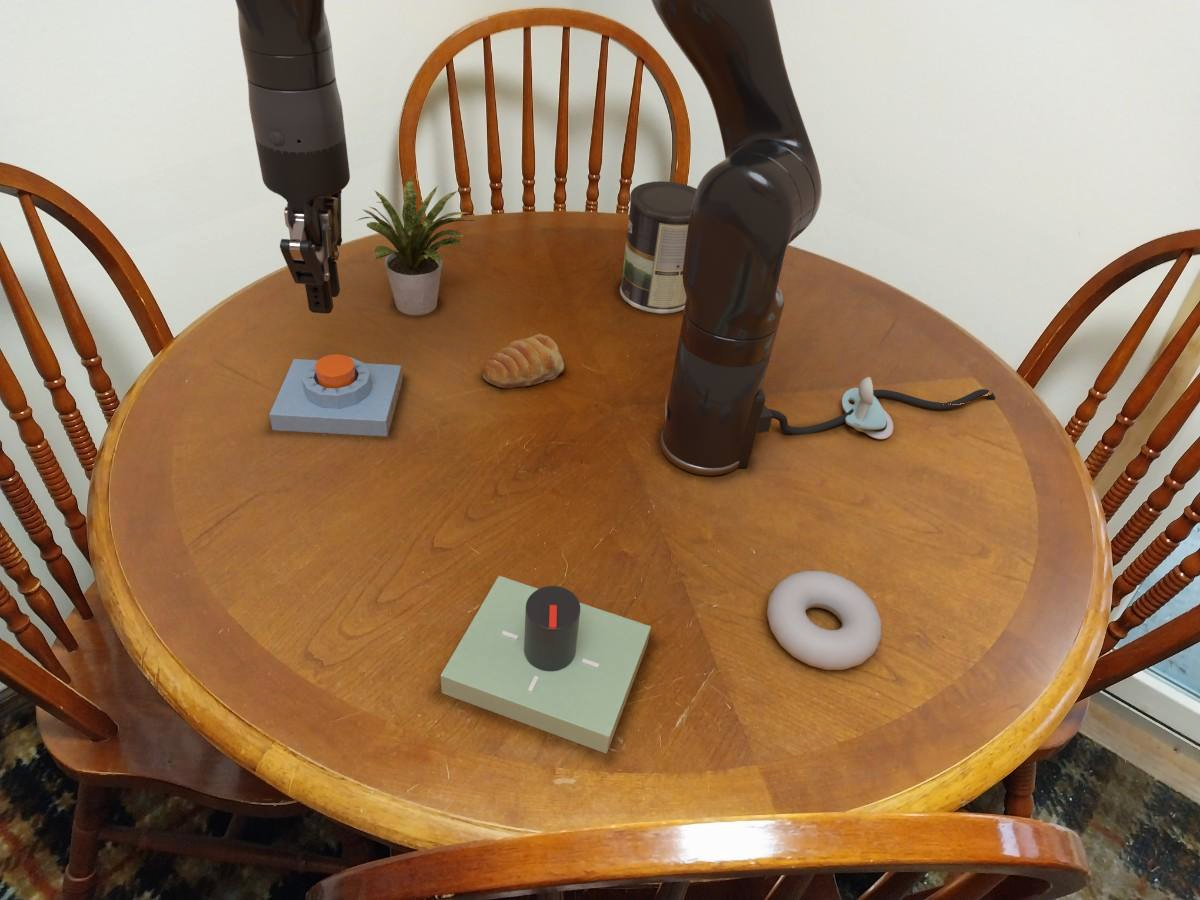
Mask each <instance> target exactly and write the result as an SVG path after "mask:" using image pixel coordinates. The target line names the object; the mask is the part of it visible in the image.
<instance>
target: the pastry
mask: <svg viewBox="0 0 1200 900" xmlns="http://www.w3.org/2000/svg"><path fill="white" fill-rule="evenodd" d="M559 349H560V348H559V346H558V345H557V343H555V341H554V340H553V339H552V337H550V336H549V335H544V334H542V333H537V334H534V335H533V336H530V337H527V338H520V339H519V340H518V339H517V340H512V341H511V342H509V343H508V344H507V345H505V347H503V348H500V350H499V351H497V352H496V353H495V354H493V356H491V357H490V358H489V359H488V360H487V361H486V362H485V363H484V365H483V373H482V378H483V379H484V380H485V382H487V383H489V384H491V385H493V386H495V387H497V388H500V389H501V388H503V389H512V388H519V387H522V388H525V387H530V386H533V385H534V386H535V385H538V384H543V383H544V382H545V381H551V380H555V379H556V378H557V377H558V376H559V375H560V374H561V373H563V372H564V370H565V363H564V361H563V356H562V355H561V353H560V350H559Z"/></svg>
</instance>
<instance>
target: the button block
mask: <svg viewBox="0 0 1200 900" xmlns="http://www.w3.org/2000/svg"><path fill="white" fill-rule="evenodd" d="M349 357H350V356H349ZM350 358H351V359H352V360H353V361H354V366H355V374H356V379H355V381H354V382H353V383H352V384H350V385H349V386H345V387H341V388H337V389H336V388H325V387H323V386H321V385H320V384H319V383H318V381H317V376H316V370H315V365H316V363H317V361H318V360H319V359H305V358H304V359H302V358H301V359H300V358H293V360H292V362H291V364H290V367H289V369H288V371H287V374H286V376H285V378H284V380H283V383H282V385H281V387H280V389H279V392H278V394H277V396H276V398H275V401H274V402H273V406H272V407H271V409H270V412H269V414H268V416H269V420H270V425H271V429H272V431H281V432H298V433H299V432H300V433H319V434H334V435H335V434H336V435H355V436H372V437H388V436H389V433H390V429H391V425H392V422H393V417H394V415H395V410H396V407H397V405H398V404H397V403H398V401H399V400H398V399H399V396H400V392H401V388H402V384H403V379H404V377H403V370H402V369H403V368H402V365H400V364H387V363H370V362H364V361H361V360H359V359H356V358H355V357H350Z"/></svg>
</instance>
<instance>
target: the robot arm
mask: <svg viewBox="0 0 1200 900" xmlns="http://www.w3.org/2000/svg"><path fill="white" fill-rule="evenodd" d="M234 1H235V5H236V8H237V22H238V33H239V40H240V46H241V52H242V57H243V63H244V68H245V74H246V79H247V89H248V90H247V91H248V106H249V114H250V118H251V123H252V124H251V125H252V130H253V134H254V141H255V146H256V151H257V156H258V162H259V168H260V173H261V178H262V182H263V185H264V186H265V187H266V189H268V190H269V191H270V192H272V193H274V194H277V195H278V196H280V197H282V198H283V199H284V200H285V201H286V202H287V204H286V206H285V207H284V212H283V215H284V221H285V226H286V227H287V228H288V233H289V238H281V239H280V243H279V249H280V252H281V254H282V257H283V259H284V262H285V263H286V266H287V268H288V270H289V273H290V274H291V277H292V279H293V281H294V284H299V285H304V286H305V287H304V288H305V293H306V299H307V305H308V310H309V311H310V312H311V313H314V314H326V315H327V314H330V313H332V311H333V309H334V301H333V298H337V297H338V296H339V295H340V292H341V286H340V278H339V271H338V264H337V263H338V262H337V261H338V260H339V258H340V252H339V248H338V247H341V246H342V243H343V238H342V193H343V192H342V191H343V190H344V189H345V188H346V187H347V186H348V184H349V183H350V179H351V174H350V166H349V157H348V147H347V146H348V145H347V139H346V138H347V137H346V131H345V129H346V128H345V121H344V112H343V105H342V100H341V95H340V92H339V88H338V84H337V78H336V69H335V60H334V52H333V43H332V37H331V31H330V25H329V21H328V17H327V14H326V9H325V0H234ZM650 1H651V3H652V5H653V8H654V10H655V12H656V14H657V16H658V17H659V19H660V21H661V22H662V25H663V26H664V28H665V29H666V31H667V33H668V34H669V35H670V36H671V38H672V39H673V41H674V42H675V44H676V45H677V46H678V48H679V49H680V51H681V52H682V53H683V55H684V56H685V58H686V59H687V60H688V62H689V63H690V64H691V66H692V67H693V69H694V70H695V72H696V73H697V75H698V76H699V78H700V79H701V82H702V84H703V85H704V87H705V89H706V91H707V94H708V96H709V98H710V100H711V103H712V107H713V110H714V113H715V117H716V120H717V124H718V128H719V132H720V133H719V134H720V136H721V140H722V146H723V151H724V157H725V159H723V160H721V161H720V162H719V163H717V164H716V165H714V166H713V167H712V168H710V169H709V170H708V171H707V172H706V173H705V174H704V175H703V177H702V178H701V180H700V181H699V183H698V184H697V187H696V189H697V190H696V192H695V195H694V199H693V202H692V206H691V212H690V217H689V224H688V232H687V240H686V248H685V256H684V264H683V285H684V290H685V293H686V301H685V308H684V310H683V314H682V319H681V325H680V331H679V337H678V343H677V348H676V353H675V359H674V365H673V371H672V376H671V382H670V388H669V393H668V395H666V396H665V402H664V414H665V415H664V422H663V425H662V429H661V434H660V439H659V441H660V442H659V444H660V450H661V451H662V453H663V455H664V457H665V458H666V459H667V460H668V461H669V462H670V463H671V464H673V465H674V466H675V467H677V468H678V469H680V470H682V471H685V472H688V473H691V474H694V475H698V476H706V477H714V476H715V477H717V476H722V475H726V474H727V475H728V474H729V473H732V472H734V471H736V470H737V469H747V468H748V467H749V464H750V463H749V462H750V459H751V456H752V452H753V451H752V450H753V449H754V446H755V445H754V444H755V440H756V437H757V434H762V433H769V431H770V427H771V425H772V421H773V419H774V420H777V421H778V422H779V428H780V430H781V431H782V432H783V433H785V434H787V435H792V436H802V435H811V434H816V433H821V432H824V431H826V430H830V429H832V428H835V427H837V426H840V425H842V424H844V423H846V422H845V420H846V417H847V416H848V415H851V414H852V413H853V412H854V410H853V409H851V410H850V411H849V412H848V413H847V412H846V413H845V412H844V413H843V414H841V415H840V416H837V417H835V418H833V419H830V420H826V421H824V422H820V423H817V424H813V425H809V426H803V427H800V426H799V427H798V426H797V427H796V426H791V425H789V423H788V422H789V421H788V418H787V416H786V415H785V414H784V413H782V412H780V411H779V410H776V409H771V408H768V407H767V405H766V400H767V399H766V397H767V396H766V393H765V388H764V383H765V378H766V374H767V371H768V367H769V365H770V360H771V356H772V351H773V347H774V344H775V342H776V341H775V340H776V337H777V333H778V329H779V326H780V322H781V318H782V315H783V311H784V306H785V298H784V295H783V292H782V290H781V288H780V287H779V281H780V276H781V272H782V268H783V263H784V258H785V255H786V252H787V249H788V245H789V244H791V243H792V242H793V241H794V240H795V239H796V238H797V237H799V235H801V234H802V233H803V232H804V231H805V230H806V229H807V228H808V227H809V226H810V224H811V223H812V222H813V221H814V219H815V218H816V216H817V213H818V211H819V208H820V205H821V199H822V193H823V192H822V191H823V190H822V189H823V188H822V187H823V186H822V185H823V184H822V177H821V173H820V169H819V165H818V162H817V158H816V155H815V152H814V149H813V146H812V143H811V140H810V137H809V134H808V132H807V129H806V126H805V123H804V120H803V117H802V114H801V111H800V108H799V106H798V105H799V104H798V102H797V99H796V97H795V94H794V91H793V87H792V84H791V81H790V78H789V74H788V71H787V67H786V63H785V59H784V55H783V51H782V45H781V41H780V36H779V30H778V27H777V23H776V18H775V13H774V9H773V6H772V5H773V4H772V1H771V0H650ZM989 391H990V390H989V389H986V388H982V389H978V390H974V391H972V392H971V393H968V394H966V395H964V396H962V397H960V398H957V399H955V400H954V399H953V400H951V401H952V402H951V401H946V402H947V403H940V402H941V401H931V400H926V399H922V398H919V397H916V396H912V395H909V394H906V393H902V392H899V391H894V390H890V389H889V390H888V389H873V395H874V396H875V397H876V398H886V399H893V400H897V401H901V402H903V403H906V404H910V405H912V406H916V407H918V408H919V407H920V408H924V409H928V410H934V411H947V410H954V409H956V408H959V407H962V406H964V405H966V404H967V403H966V402H968V401H970V402H973V401H974V400H976V398H977V399H979V398H982V397H981V396H983V395H985V394H987V393H988V392H989ZM978 397H979V398H978ZM983 397H984V398H986V399H987V400H989V401H995V400H996V395H995V394H994V393H993V392H992V394H991V395H988V396H983ZM950 403H951V405H950ZM960 403H965V404H961V405H952V404H960ZM968 403H969V402H968ZM851 404H852V405H854V404H855V403H854V401H853V402H852V403H851ZM943 404H944V405H943ZM948 404H949V405H948Z"/></svg>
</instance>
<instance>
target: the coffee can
mask: <svg viewBox="0 0 1200 900" xmlns="http://www.w3.org/2000/svg"><path fill="white" fill-rule="evenodd" d="M696 190H697V187H694V186H691V185H687V184H684V183H680V182H675V181H665V180H664V181H661V180H660V181H658V180H657V181H650V182H644V183H641V184H638V185H637V186H635V187H634V188H633V189H632V190H631V191H630V195H629V202H630V203H629V212H628V222H627V231H626V238H625V247H624V257H623V265H622V274H621V281H620V282H621V283H620V287H619V293H620V296H621V297H622V299H623V300H624V301H625V302H626V303H627V304H629V305H630V306H631V307H633V308H635V309H637V310H640V311H643V312H646V313H651V314H657V315H658V314H659V315H662V314H663V315H665V314H675V313H679V312H681V311H684V308H685V301H686V293H685V290H684V285H683V264H684V256H685V248H686V240H687V232H688V224H689V217H690V212H691V206H692V202H693V199H694V195H695V192H696Z"/></svg>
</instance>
